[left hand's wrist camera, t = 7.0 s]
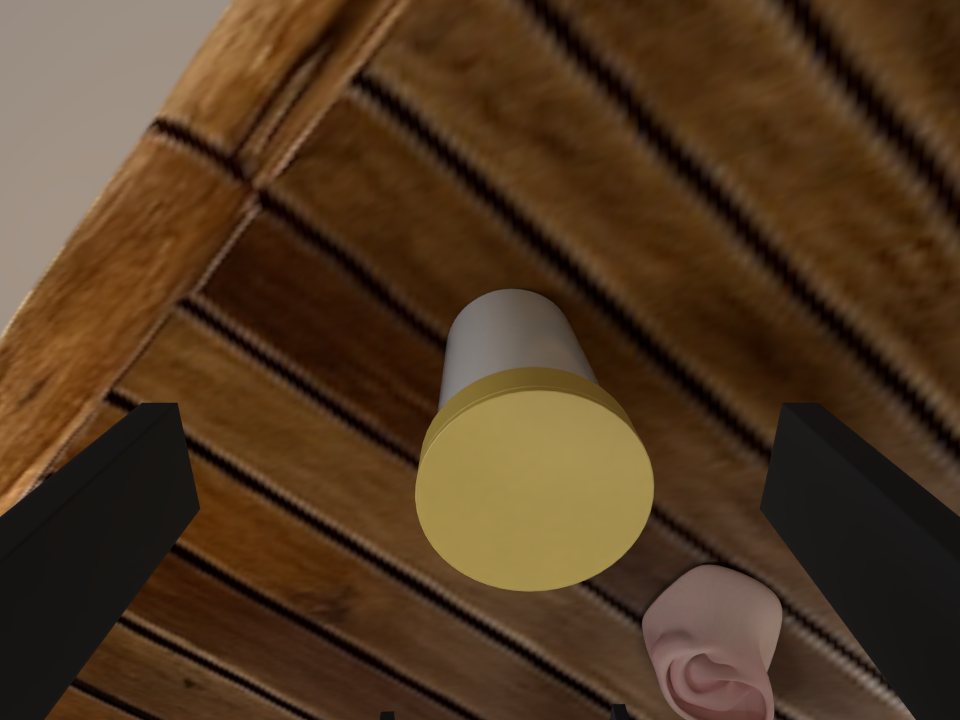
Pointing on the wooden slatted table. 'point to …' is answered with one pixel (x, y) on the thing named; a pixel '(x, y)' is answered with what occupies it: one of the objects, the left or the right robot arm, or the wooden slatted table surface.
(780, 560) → the wooden slatted table surface
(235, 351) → the wooden slatted table surface
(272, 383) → the wooden slatted table surface
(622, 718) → the right robot arm
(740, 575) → the anatomical model
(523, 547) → the lid
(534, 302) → the jar
